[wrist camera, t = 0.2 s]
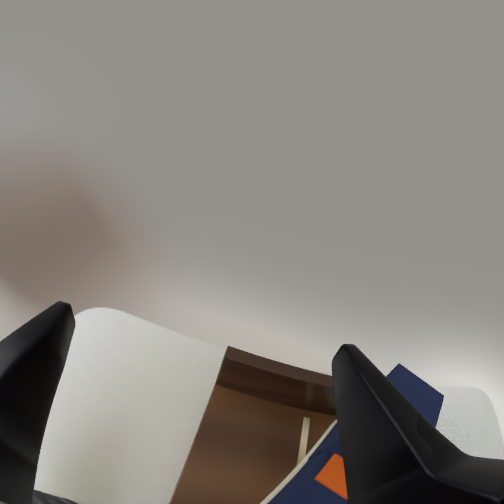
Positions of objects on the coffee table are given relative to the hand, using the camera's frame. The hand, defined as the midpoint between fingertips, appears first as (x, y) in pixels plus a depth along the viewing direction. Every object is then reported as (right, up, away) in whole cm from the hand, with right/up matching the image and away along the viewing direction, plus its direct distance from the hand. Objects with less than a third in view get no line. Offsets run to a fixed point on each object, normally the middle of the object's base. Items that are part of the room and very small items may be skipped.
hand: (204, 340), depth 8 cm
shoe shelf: (+5, -16, +9) cm, 19 cm away
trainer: (+7, -15, +8) cm, 19 cm away
